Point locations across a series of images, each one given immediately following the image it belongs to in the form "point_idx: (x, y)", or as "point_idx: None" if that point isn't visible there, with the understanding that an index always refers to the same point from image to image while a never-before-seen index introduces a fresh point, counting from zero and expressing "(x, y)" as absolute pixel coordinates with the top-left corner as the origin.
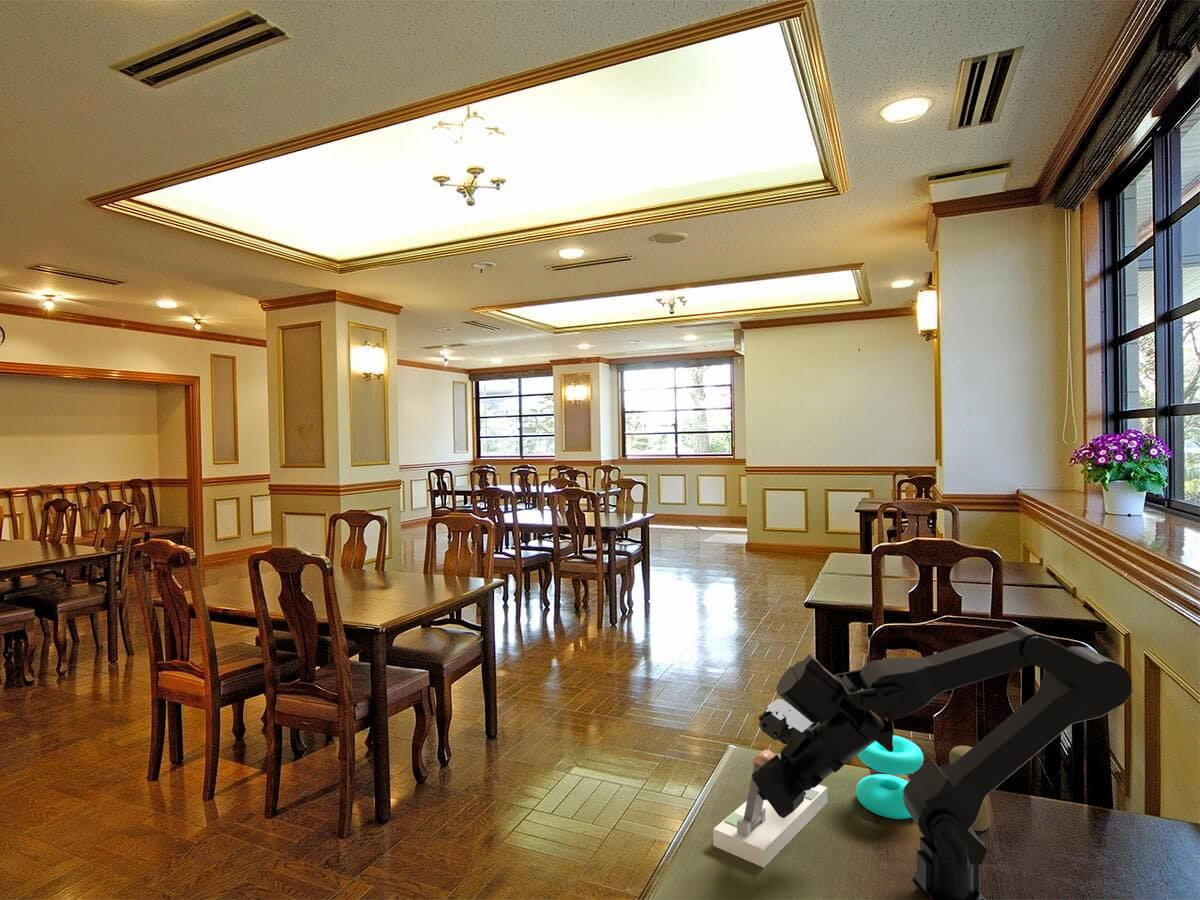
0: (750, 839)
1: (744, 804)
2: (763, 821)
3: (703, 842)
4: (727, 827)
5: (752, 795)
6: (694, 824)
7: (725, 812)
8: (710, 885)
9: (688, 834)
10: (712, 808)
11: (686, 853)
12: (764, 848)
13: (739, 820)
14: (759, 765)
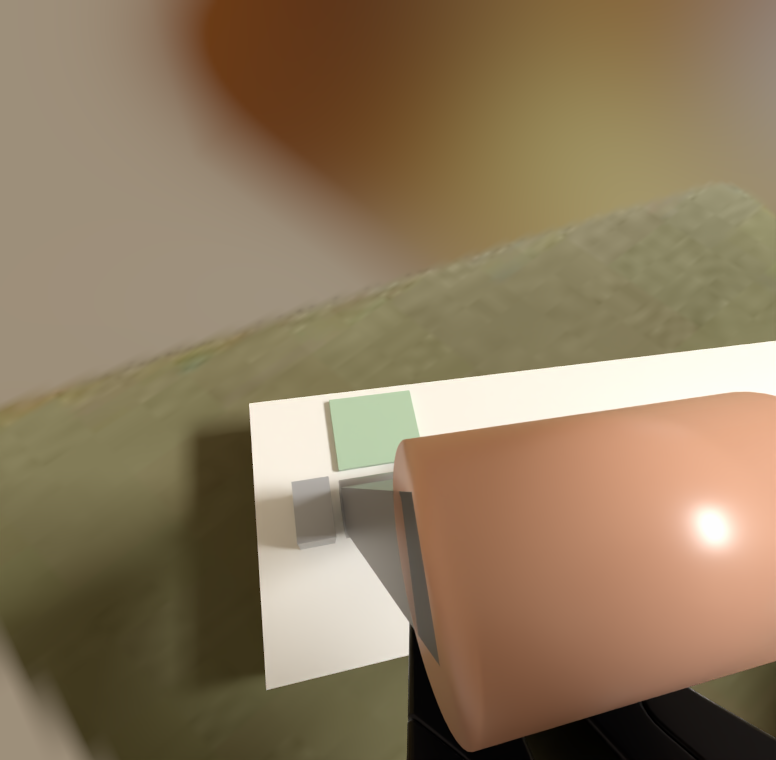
0: (297, 572)
1: (496, 380)
2: None
3: (253, 391)
4: (302, 437)
5: (358, 522)
6: (322, 310)
7: (459, 334)
8: (5, 593)
9: (257, 330)
10: (442, 295)
11: (150, 392)
12: (278, 683)
13: (303, 488)
14: (425, 595)
